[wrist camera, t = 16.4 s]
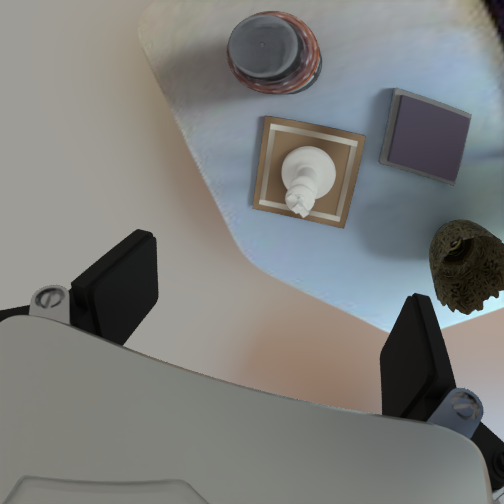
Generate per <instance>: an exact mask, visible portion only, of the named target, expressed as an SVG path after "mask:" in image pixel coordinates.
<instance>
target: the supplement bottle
mask: <svg viewBox="0 0 504 504" xmlns="http://www.w3.org/2000/svg"><path fill="white" fill-rule="evenodd" d="M227 59H228V63H229V66H230V68H231V70H232V72H233V74H234V75H235V76H236V78H237V79H238V80H239V81H240V82H241V83H243V84H244V85H246V86H247V87H249V88H251V89H253V90H255V91H258V92H262V93H267V94H294V93H298V92H301V91H304V90H306V89H307V88H309V87H310V86H311V85H312V84H313V83H314V82H315V81H316V80H317V78H318V76H319V74H320V72H321V67H322V58H321V54H320V50H319V47H318V44H317V40H316V38H315V36H314V34H313V33H312V31H311V30H310V29H309V27H308V26H307V25H306V24H305V23H304V22H302V21H301V20H300V19H298V18H297V17H295V16H293V15H290V14H288V13H284V12H279V11H265V12H260V13H257V14H254V15H252V16H250V17H248V18H246V19H245V20H243V21H242V22H240V23H239V24H238V25H237V26H236V27H235V28H234V30H233V31H232V33H231V36H230V38H229V42H228V45H227Z"/></svg>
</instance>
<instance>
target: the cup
mask: <svg viewBox="0 0 504 504" xmlns="http://www.w3.org/2000/svg"><path fill="white" fill-rule="evenodd" d="M429 262H430V269H431V274H432V278H433V283H434V288H435V292H436V296H437V299H438V300H440V302H441V304H442V305H443V306H445V305H446V304H447V305H448V308H449V309H450V310H451V311H452V312H454V311H455V309H457V310H459V312H461V313H463V314H466V315H469V314H471V312H472V311H474V310H475V309H476V310H477V311H480V310H483V301H484V300H488V299H489V297H490V296H494V297H495V298H498V297H499V291H502V290H504V244H503V243H502V242H501V240H500V239H499V238H497V237H495V236H494V235H493V234H491V233H490V232H489V231H487V230H486V229H485V228H483V227H481V226H480V225H478V224H476V223H474V222H471V221H468V220H455V221H452V222H449V223H447V224H445V225H443V226H442V227H441V228H440V229H439V230H438V232H437V233H436V235H435V236H434V238H433V240H432V243H431V246H430V250H429Z"/></svg>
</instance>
